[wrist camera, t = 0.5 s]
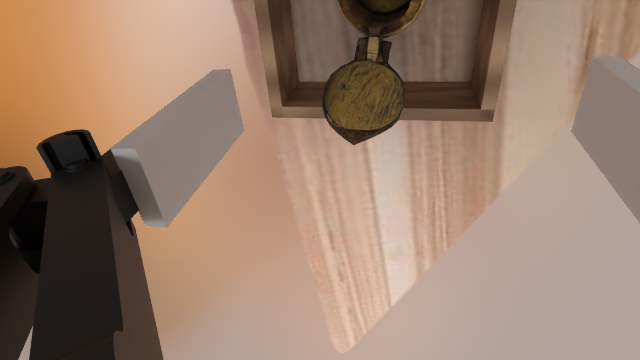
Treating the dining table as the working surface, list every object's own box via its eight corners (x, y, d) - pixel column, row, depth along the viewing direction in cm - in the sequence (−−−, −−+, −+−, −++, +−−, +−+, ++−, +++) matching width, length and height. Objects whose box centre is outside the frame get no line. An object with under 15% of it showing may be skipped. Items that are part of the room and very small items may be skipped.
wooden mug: (333, 61, 42) (291, 139, 28) (343, -88, 34) (293, -88, 20) (415, 70, 41) (415, 157, 27) (445, -82, 33) (469, -78, 19)
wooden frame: (264, -114, 34) (235, -119, 29) (522, -143, 30) (547, -155, 24) (289, 91, 45) (272, 117, 40) (481, 92, 41) (492, 121, 35)
